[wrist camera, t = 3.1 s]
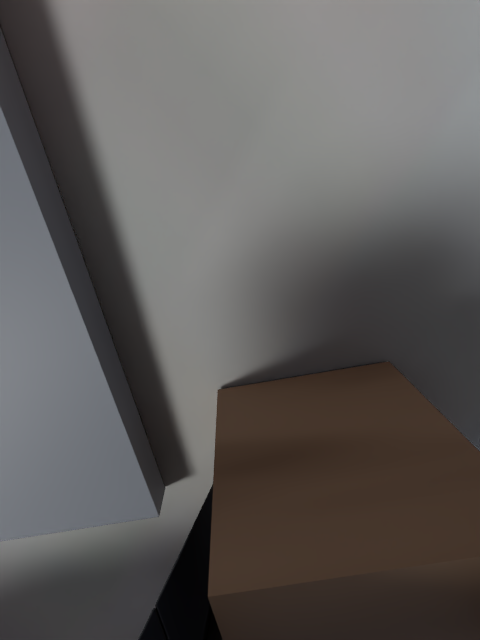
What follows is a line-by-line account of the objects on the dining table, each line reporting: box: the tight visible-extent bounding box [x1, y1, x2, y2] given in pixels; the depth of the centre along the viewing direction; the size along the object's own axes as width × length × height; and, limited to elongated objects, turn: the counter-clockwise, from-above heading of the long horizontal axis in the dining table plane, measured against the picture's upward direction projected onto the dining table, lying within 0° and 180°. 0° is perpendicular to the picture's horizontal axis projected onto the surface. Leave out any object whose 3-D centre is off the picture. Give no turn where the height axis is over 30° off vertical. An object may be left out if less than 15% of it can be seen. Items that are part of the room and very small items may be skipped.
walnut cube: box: [208, 362, 480, 640], centre depth 7 cm, size 5×5×5 cm
